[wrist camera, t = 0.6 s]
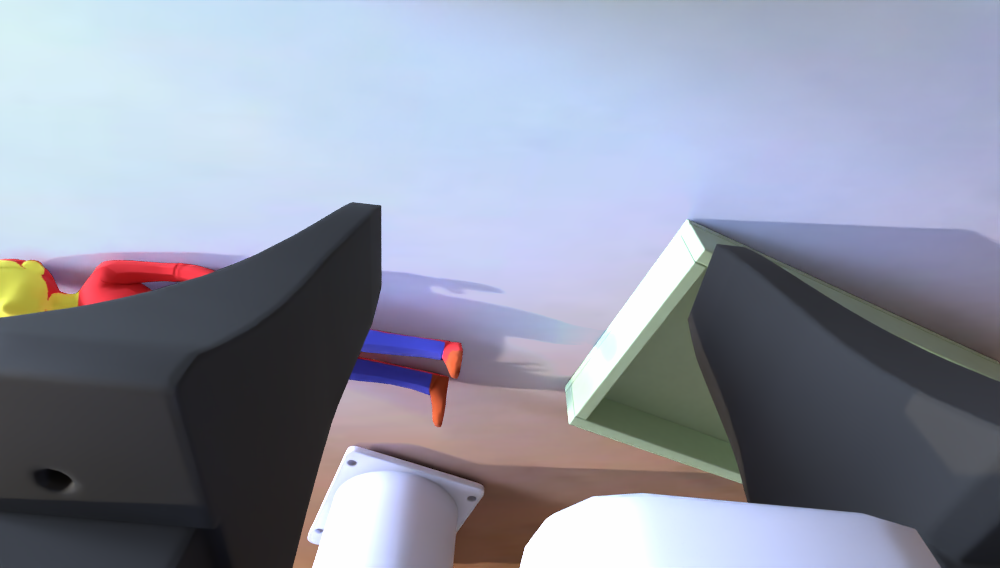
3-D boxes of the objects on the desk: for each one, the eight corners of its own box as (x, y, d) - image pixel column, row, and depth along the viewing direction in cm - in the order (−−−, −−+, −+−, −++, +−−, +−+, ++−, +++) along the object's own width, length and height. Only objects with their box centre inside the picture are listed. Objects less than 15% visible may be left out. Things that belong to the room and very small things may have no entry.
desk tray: (836, 485, 31) (858, 524, 29) (564, 387, 27) (568, 424, 25) (996, 360, 26) (1037, 398, 24) (687, 218, 22) (704, 248, 20)
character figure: (433, 471, 23) (-90, 374, 21) (437, 418, 28) (3, 332, 25) (465, 350, 22) (-93, 230, 19) (464, 314, 26) (6, 211, 23)
